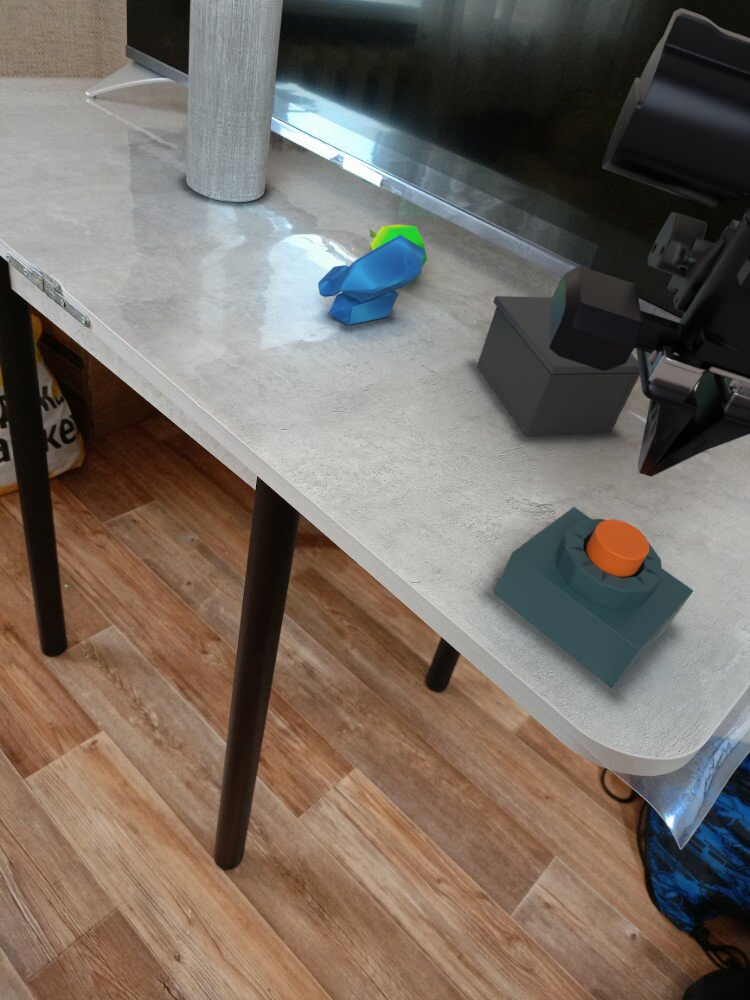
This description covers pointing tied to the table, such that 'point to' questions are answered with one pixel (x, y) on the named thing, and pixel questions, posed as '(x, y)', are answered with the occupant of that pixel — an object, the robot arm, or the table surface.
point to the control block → (590, 597)
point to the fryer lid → (547, 335)
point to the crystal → (372, 281)
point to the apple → (392, 232)
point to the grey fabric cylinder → (231, 96)
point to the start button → (617, 548)
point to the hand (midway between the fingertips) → (644, 470)
